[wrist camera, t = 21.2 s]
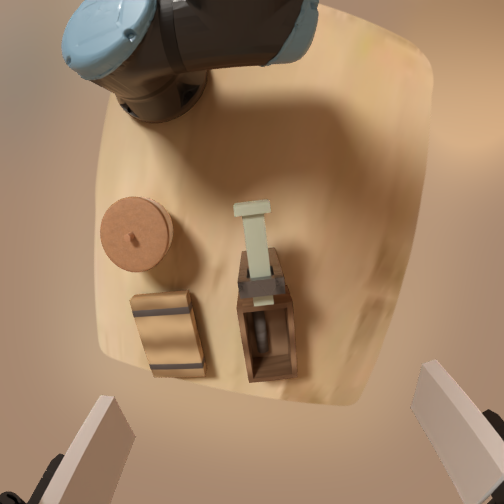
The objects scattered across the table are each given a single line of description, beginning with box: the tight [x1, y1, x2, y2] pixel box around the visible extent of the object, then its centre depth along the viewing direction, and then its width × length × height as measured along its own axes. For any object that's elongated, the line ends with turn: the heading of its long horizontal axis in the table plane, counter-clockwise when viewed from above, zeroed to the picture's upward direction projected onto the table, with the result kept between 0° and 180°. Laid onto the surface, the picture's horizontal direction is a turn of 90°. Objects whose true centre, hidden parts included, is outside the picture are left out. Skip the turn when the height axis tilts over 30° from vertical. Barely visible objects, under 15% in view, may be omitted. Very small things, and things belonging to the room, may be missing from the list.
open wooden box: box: [237, 285, 297, 383], centre depth 46 cm, size 14×8×7 cm, turn 7°
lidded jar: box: [100, 197, 173, 272], centre depth 41 cm, size 11×11×9 cm
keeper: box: [238, 248, 286, 299], centre depth 40 cm, size 2×5×14 cm, turn 97°
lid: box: [129, 290, 207, 377], centre depth 48 cm, size 16×10×4 cm, turn 7°
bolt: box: [233, 199, 274, 306], centre depth 35 cm, size 12×4×4 cm, turn 7°
